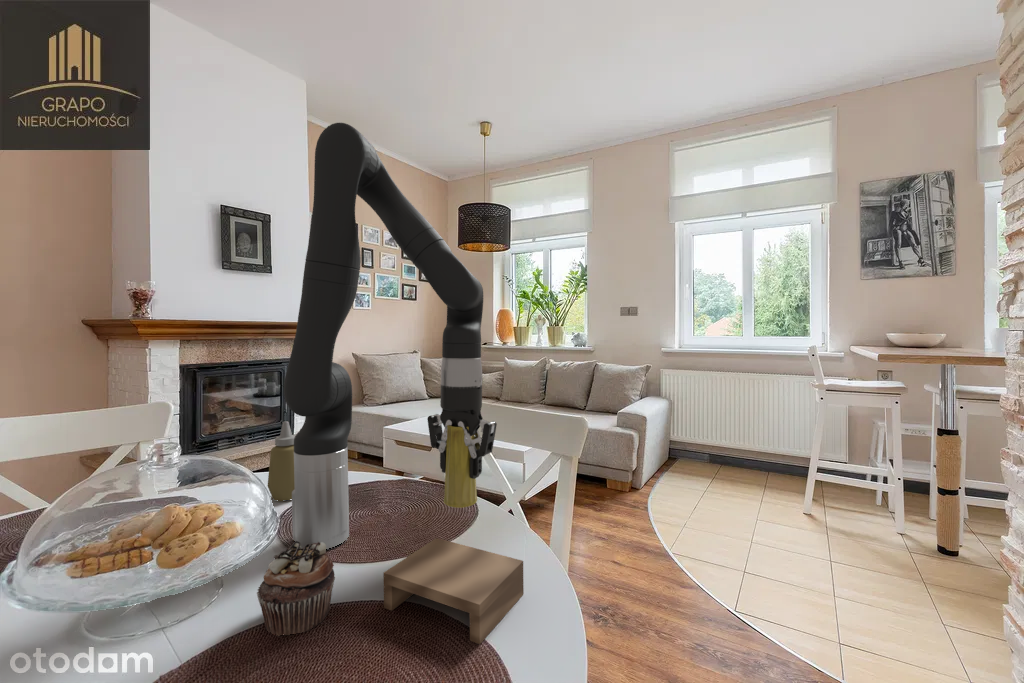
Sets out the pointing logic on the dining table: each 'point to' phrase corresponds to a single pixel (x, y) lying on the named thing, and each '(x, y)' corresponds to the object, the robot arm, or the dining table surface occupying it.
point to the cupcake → (297, 589)
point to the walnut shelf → (458, 582)
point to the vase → (458, 471)
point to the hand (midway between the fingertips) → (460, 474)
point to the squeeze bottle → (282, 465)
